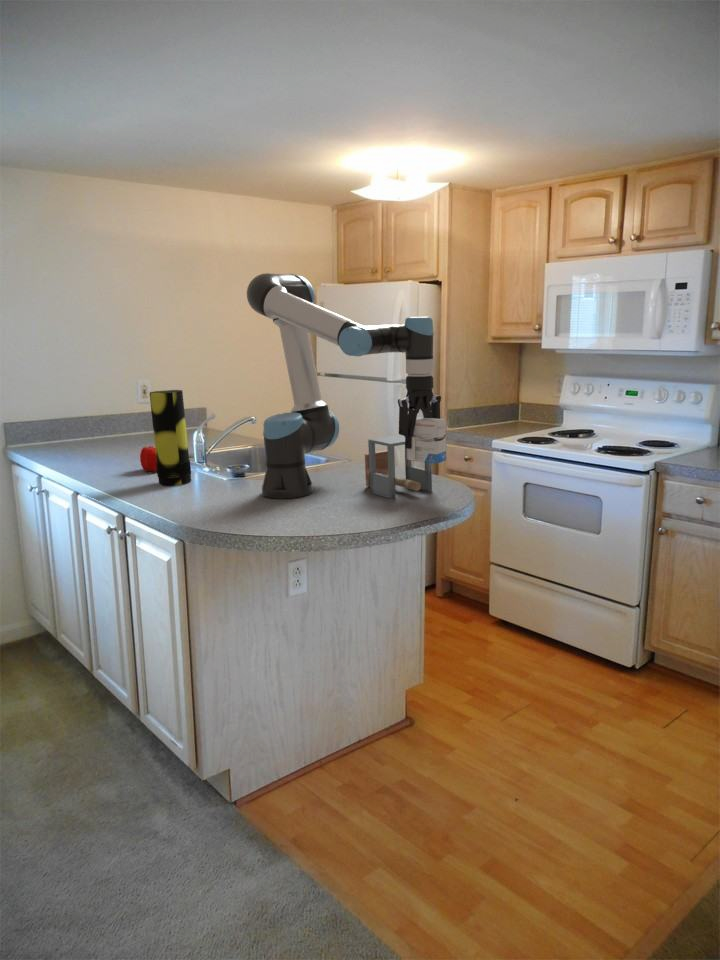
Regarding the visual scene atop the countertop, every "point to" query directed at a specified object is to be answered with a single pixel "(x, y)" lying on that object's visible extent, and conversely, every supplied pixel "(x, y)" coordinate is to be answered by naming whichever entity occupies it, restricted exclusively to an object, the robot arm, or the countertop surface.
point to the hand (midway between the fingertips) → (420, 458)
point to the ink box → (430, 440)
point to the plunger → (383, 469)
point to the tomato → (148, 459)
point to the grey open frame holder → (387, 483)
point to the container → (170, 437)
